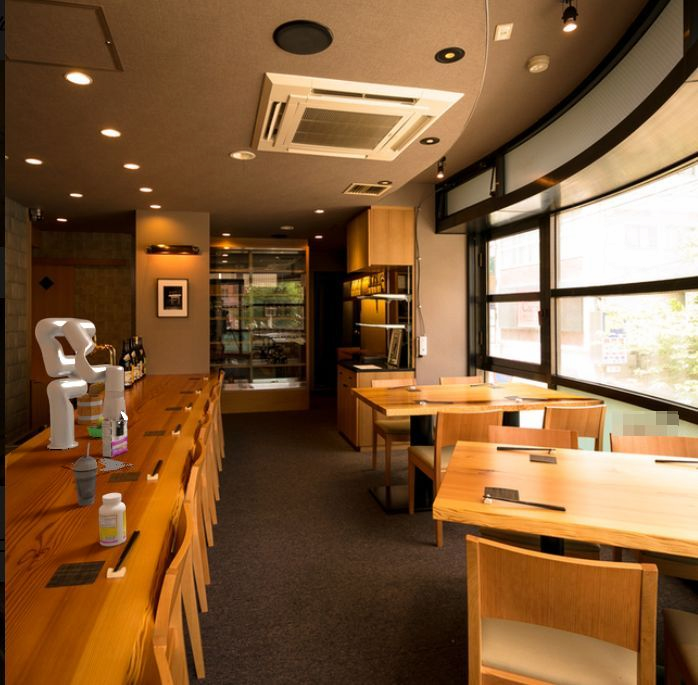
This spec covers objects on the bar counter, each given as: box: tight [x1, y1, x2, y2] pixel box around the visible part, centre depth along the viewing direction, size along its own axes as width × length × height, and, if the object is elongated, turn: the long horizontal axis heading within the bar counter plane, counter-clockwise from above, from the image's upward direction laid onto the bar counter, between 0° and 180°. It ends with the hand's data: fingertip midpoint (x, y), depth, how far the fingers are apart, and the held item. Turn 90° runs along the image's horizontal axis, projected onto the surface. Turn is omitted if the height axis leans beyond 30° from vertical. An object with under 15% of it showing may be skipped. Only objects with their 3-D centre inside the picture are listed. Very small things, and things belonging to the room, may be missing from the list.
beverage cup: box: [72, 442, 98, 507], centre depth 168 cm, size 7×7×20 cm
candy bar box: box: [101, 414, 129, 458], centre depth 228 cm, size 11×5×16 cm, turn 168°
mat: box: [70, 457, 134, 471], centre depth 210 cm, size 24×16×1 cm, turn 60°
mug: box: [76, 394, 104, 425], centre depth 298 cm, size 20×14×15 cm
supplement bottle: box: [98, 492, 127, 547], centre depth 140 cm, size 7×7×13 cm
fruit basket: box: [86, 415, 104, 439], centre depth 261 cm, size 11×9×11 cm
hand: (115, 434), depth 228 cm, fingers closed on candy bar box, 6 cm apart
